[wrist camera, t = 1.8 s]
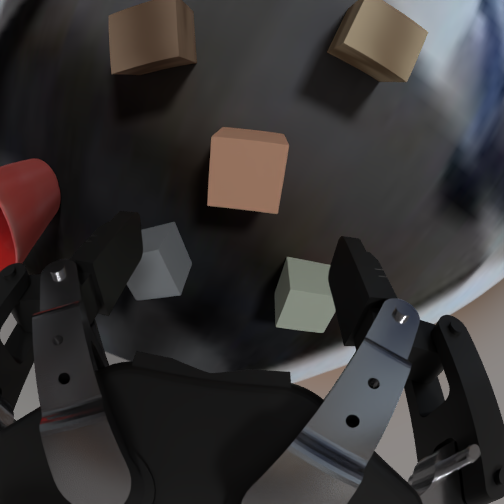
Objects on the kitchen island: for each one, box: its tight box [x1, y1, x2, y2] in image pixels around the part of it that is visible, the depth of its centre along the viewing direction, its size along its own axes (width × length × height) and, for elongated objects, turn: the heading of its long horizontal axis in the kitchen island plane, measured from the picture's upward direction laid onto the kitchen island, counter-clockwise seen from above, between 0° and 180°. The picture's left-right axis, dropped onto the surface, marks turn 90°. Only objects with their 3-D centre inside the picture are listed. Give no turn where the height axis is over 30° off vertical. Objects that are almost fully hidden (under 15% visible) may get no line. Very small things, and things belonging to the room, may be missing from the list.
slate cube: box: [127, 222, 192, 301], centre depth 25 cm, size 5×5×5 cm
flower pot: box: [0, 159, 61, 272], centre depth 19 cm, size 11×11×10 cm
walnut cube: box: [109, 0, 197, 75], centre depth 14 cm, size 5×5×5 cm
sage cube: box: [275, 257, 336, 333], centre depth 27 cm, size 5×5×5 cm
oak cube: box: [327, 0, 428, 82], centre depth 13 cm, size 5×5×5 cm
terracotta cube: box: [207, 127, 289, 214], centre depth 20 cm, size 5×5×5 cm
